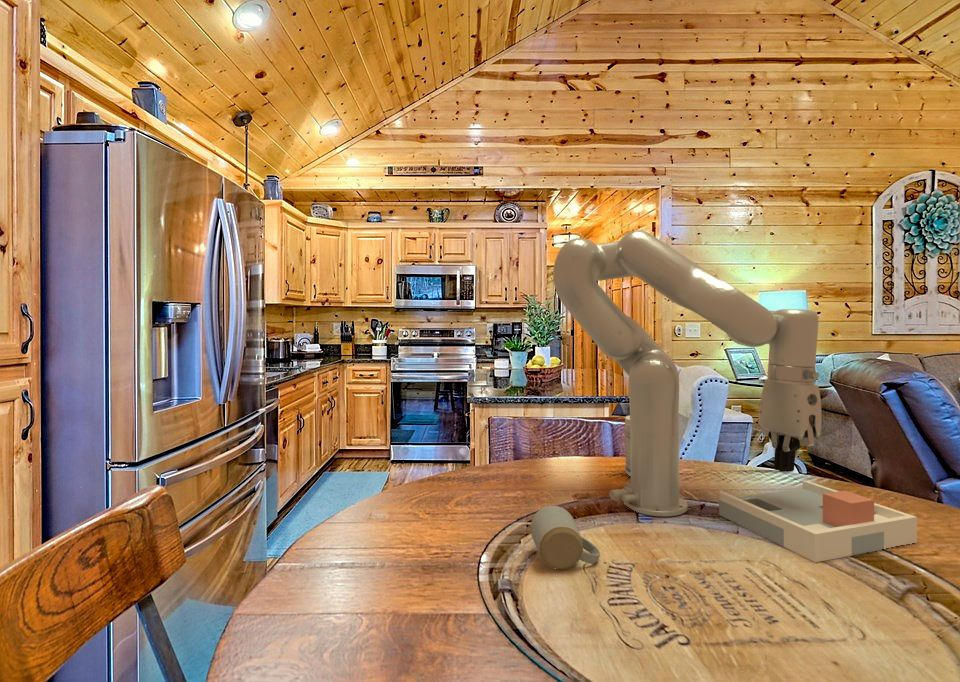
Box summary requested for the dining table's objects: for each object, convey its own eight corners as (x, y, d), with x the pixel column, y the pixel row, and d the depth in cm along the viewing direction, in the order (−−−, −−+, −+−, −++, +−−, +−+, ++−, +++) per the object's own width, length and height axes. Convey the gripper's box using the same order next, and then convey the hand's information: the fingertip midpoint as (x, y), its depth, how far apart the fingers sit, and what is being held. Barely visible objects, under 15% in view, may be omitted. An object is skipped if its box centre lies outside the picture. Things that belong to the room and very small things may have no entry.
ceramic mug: (539, 574, 75) (539, 524, 75) (530, 549, 83) (530, 505, 83) (606, 572, 76) (607, 522, 76) (591, 548, 84) (591, 503, 84)
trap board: (815, 562, 77) (815, 534, 77) (719, 514, 97) (718, 492, 97) (916, 543, 83) (917, 516, 83) (806, 501, 103) (806, 480, 103)
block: (851, 533, 80) (851, 503, 80) (822, 522, 85) (822, 493, 85) (874, 529, 82) (874, 499, 82) (844, 518, 86) (844, 490, 86)
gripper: (844, 380, 87) (836, 482, 88) (773, 370, 101) (767, 458, 102) (811, 380, 85) (803, 484, 86) (743, 370, 99) (737, 459, 100)
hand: (783, 470), depth 94 cm, fingers closed
